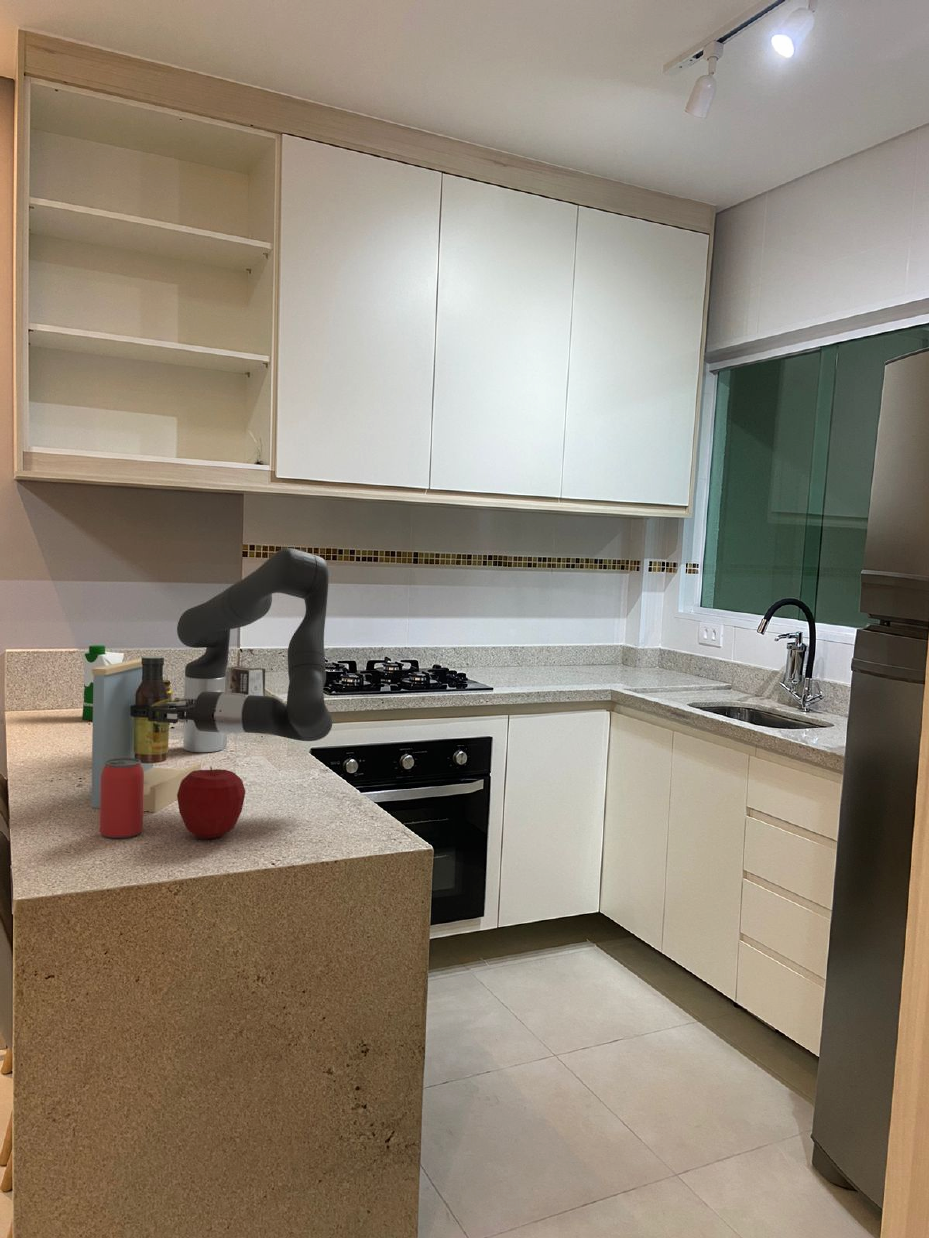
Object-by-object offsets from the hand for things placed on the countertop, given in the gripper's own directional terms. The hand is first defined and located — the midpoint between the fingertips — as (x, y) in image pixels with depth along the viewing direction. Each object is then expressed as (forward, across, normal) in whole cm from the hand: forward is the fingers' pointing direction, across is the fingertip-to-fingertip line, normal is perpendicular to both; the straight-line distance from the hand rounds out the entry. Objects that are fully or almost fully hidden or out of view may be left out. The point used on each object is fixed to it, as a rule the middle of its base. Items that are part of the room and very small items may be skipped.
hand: (139, 707), depth 174 cm
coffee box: (+5, -71, +17) cm, 73 cm away
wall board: (-2, +1, +17) cm, 17 cm away
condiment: (+27, -66, +17) cm, 73 cm away
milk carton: (+45, -70, +16) cm, 84 cm away
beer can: (-9, +24, +17) cm, 31 cm away
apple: (-23, +22, +17) cm, 36 cm away
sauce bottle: (-3, 0, +10) cm, 11 cm away
